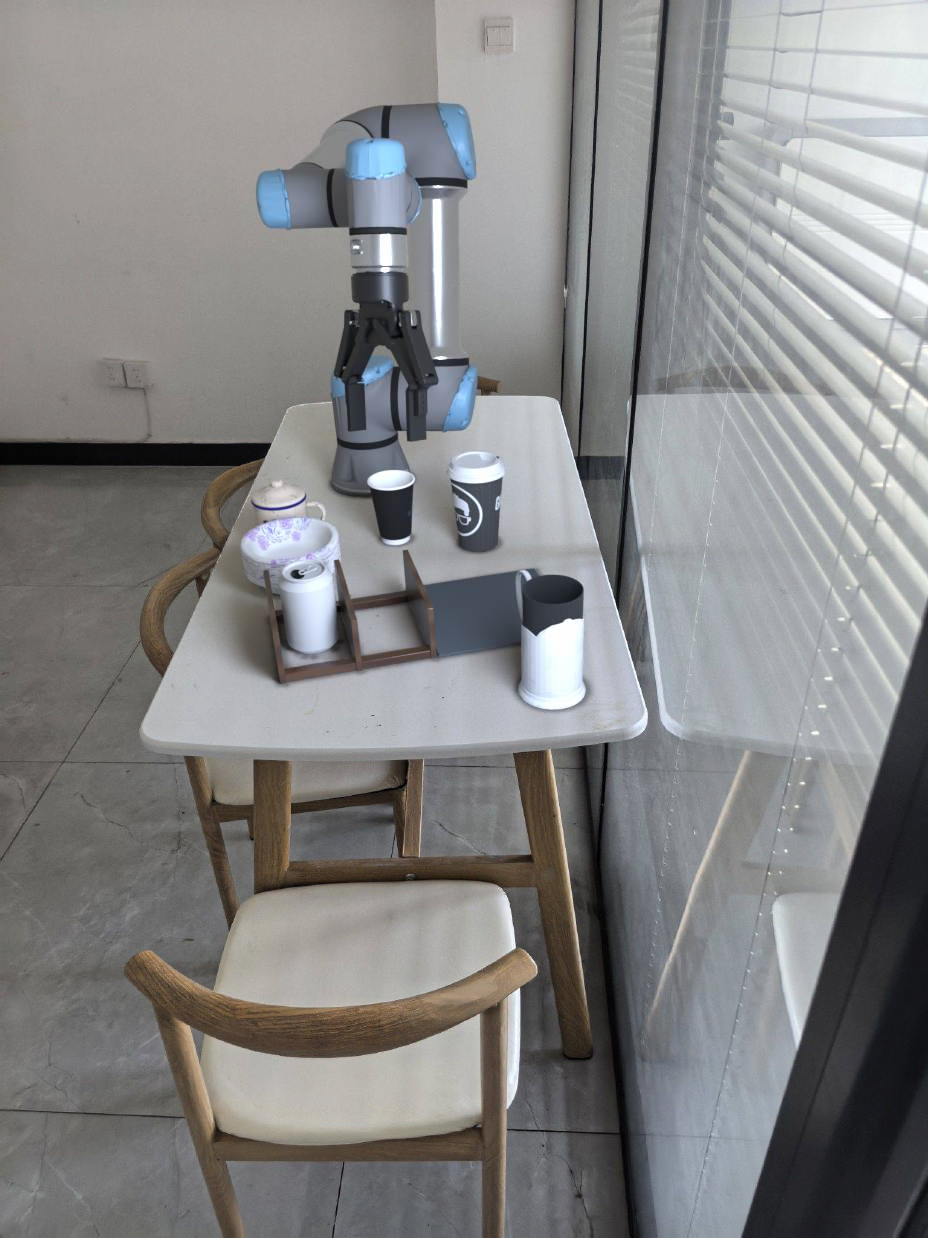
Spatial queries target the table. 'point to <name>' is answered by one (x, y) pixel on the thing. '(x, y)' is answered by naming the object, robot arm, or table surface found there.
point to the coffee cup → (477, 498)
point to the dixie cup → (393, 504)
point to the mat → (476, 613)
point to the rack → (346, 607)
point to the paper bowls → (288, 547)
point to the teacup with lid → (281, 502)
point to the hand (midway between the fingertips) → (385, 435)
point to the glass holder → (551, 640)
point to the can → (309, 606)
